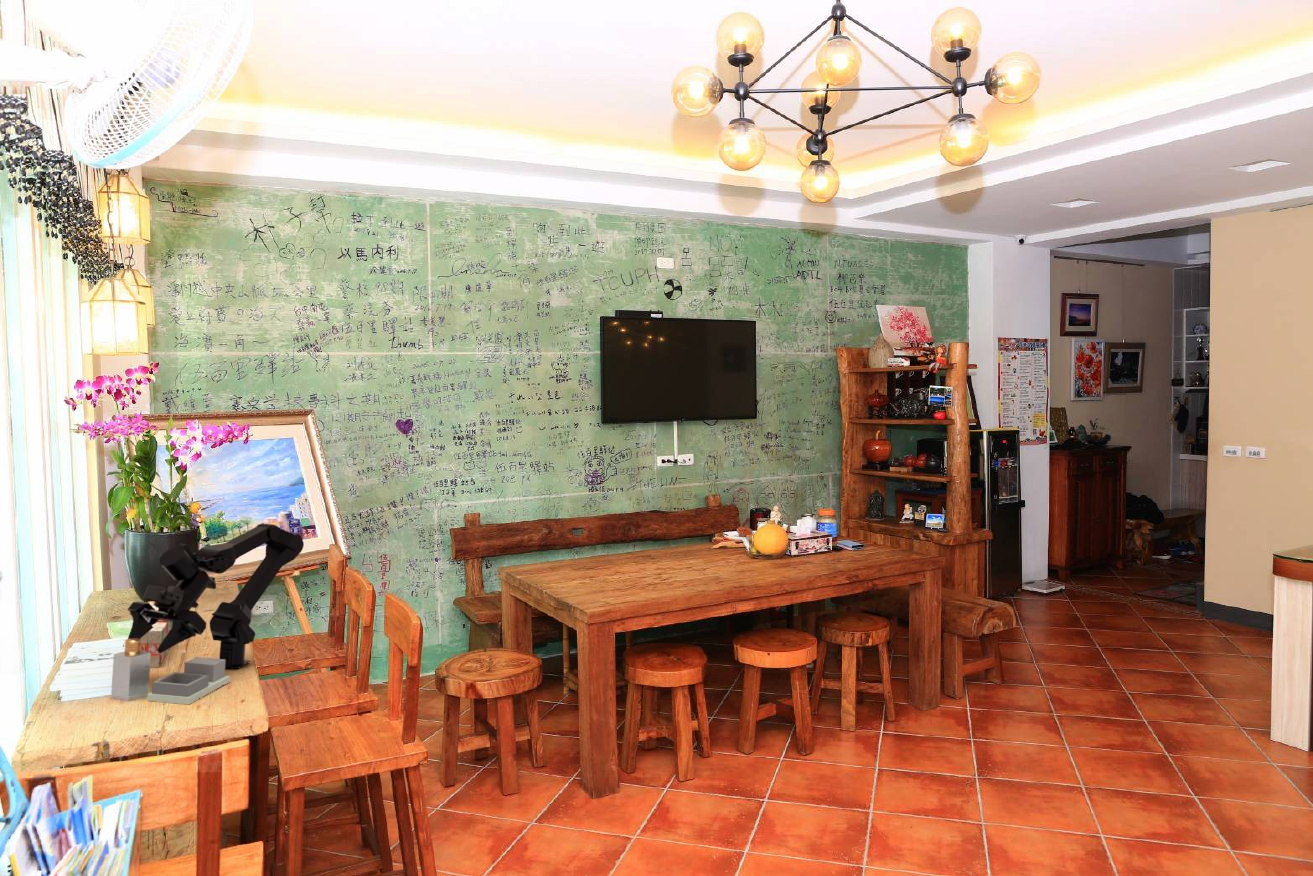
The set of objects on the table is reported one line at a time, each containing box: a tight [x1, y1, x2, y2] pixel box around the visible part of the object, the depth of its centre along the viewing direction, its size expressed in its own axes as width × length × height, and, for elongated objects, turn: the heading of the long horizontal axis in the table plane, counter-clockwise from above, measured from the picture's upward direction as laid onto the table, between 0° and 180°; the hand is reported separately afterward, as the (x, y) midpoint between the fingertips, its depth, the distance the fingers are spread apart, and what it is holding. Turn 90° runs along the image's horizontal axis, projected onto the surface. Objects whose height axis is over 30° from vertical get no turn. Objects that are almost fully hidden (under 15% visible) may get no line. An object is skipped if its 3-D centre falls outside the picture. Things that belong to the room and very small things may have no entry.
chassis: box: [146, 656, 231, 705], centre depth 203 cm, size 17×9×6 cm, turn 177°
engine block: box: [110, 638, 151, 702], centre depth 197 cm, size 5×5×12 cm
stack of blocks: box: [140, 600, 173, 669], centre depth 227 cm, size 21×6×12 cm, turn 21°
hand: (143, 648), depth 199 cm, fingers open, 9 cm apart
